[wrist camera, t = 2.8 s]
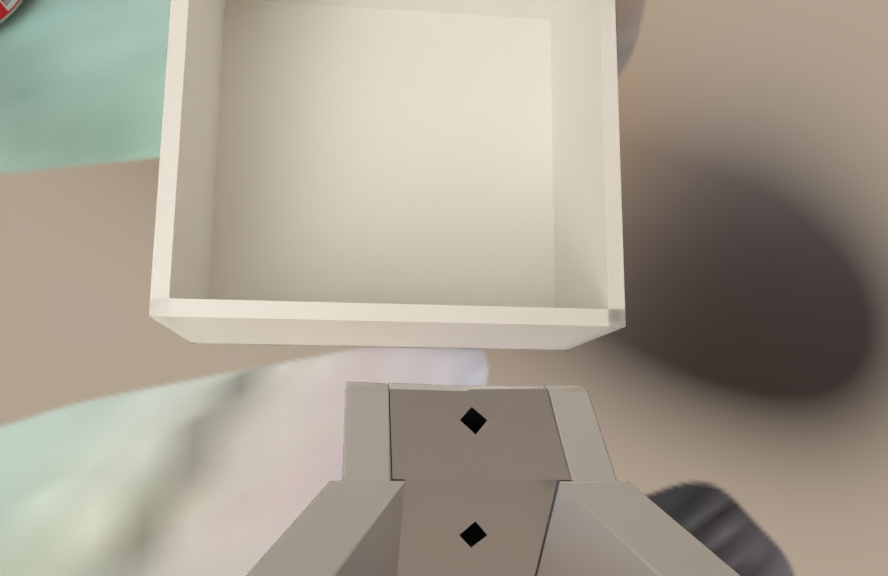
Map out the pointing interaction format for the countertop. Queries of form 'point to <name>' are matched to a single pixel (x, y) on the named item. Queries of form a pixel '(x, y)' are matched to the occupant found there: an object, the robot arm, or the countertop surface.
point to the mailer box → (390, 174)
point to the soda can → (8, 8)
